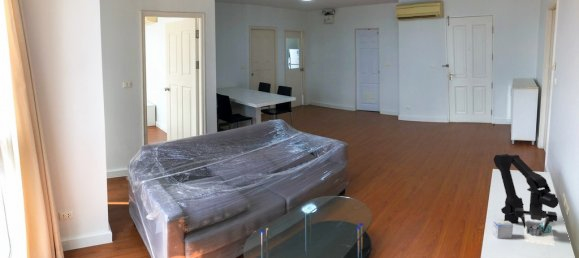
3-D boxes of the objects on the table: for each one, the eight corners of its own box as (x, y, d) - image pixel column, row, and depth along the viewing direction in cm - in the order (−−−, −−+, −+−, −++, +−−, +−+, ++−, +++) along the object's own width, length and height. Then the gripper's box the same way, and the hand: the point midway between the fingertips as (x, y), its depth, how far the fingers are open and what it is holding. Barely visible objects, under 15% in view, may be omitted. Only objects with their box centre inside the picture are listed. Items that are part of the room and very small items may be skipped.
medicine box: (507, 236, 224) (508, 220, 222) (512, 239, 220) (513, 224, 218) (492, 237, 224) (493, 221, 222) (497, 240, 219) (497, 225, 218)
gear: (526, 234, 222) (527, 229, 221) (526, 229, 228) (526, 224, 227) (542, 237, 219) (542, 231, 218) (541, 231, 225) (541, 226, 224)
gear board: (524, 243, 215) (525, 233, 214) (523, 227, 232) (524, 217, 231) (554, 248, 209) (555, 237, 208) (551, 231, 226) (552, 221, 225)
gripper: (515, 204, 217) (514, 233, 220) (559, 209, 208) (556, 239, 211) (515, 196, 227) (514, 224, 230) (557, 201, 218) (554, 230, 221)
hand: (534, 229), depth 223 cm, fingers open, 8 cm apart
